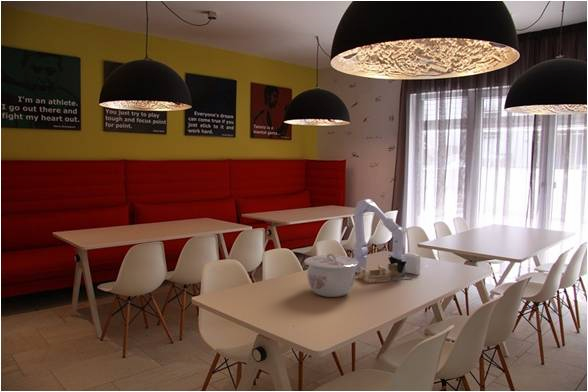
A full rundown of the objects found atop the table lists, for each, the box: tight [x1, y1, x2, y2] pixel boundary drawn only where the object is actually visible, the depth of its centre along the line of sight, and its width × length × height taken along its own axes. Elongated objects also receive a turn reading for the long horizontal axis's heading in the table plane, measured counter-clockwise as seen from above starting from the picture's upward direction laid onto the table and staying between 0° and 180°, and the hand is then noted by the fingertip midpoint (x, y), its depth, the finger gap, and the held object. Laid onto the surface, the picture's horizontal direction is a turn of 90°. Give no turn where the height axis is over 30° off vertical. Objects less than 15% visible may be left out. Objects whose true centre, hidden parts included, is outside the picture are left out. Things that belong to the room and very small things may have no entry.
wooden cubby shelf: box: [358, 265, 391, 284], centre depth 262 cm, size 13×13×6 cm
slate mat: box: [390, 274, 412, 281], centre depth 268 cm, size 14×11×1 cm
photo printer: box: [404, 252, 421, 276], centre depth 276 cm, size 10×4×12 cm, turn 39°
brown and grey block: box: [387, 263, 406, 277], centre depth 267 cm, size 4×9×7 cm, turn 108°
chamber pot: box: [303, 252, 358, 298], centre depth 234 cm, size 28×28×21 cm
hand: (396, 271), depth 268 cm, fingers open, 7 cm apart
